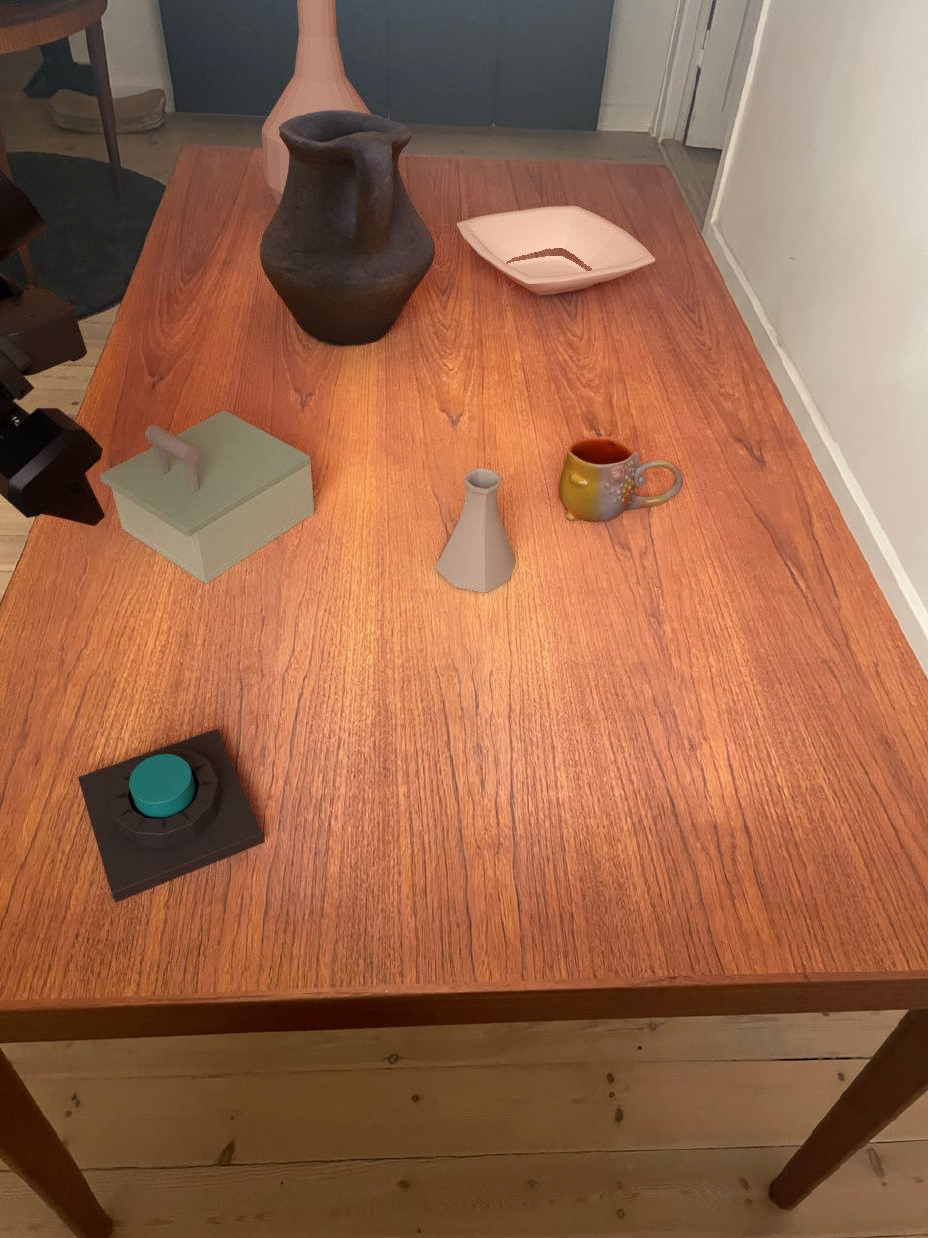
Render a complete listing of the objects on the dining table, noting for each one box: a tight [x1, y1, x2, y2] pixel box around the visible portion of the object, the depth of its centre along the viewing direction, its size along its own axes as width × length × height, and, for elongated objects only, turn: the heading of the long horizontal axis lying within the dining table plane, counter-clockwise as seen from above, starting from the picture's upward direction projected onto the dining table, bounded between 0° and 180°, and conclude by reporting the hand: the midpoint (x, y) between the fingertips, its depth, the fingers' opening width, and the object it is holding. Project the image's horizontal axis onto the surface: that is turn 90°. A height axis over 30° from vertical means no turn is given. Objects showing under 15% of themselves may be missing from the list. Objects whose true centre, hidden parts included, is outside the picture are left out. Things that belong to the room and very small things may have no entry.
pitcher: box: [259, 110, 436, 346], centre depth 106 cm, size 21×22×25 cm
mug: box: [558, 436, 684, 523], centre depth 89 cm, size 12×7×7 cm, turn 84°
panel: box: [77, 728, 265, 903], centre depth 62 cm, size 10×10×3 cm
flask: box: [434, 467, 516, 594], centre depth 80 cm, size 7×7×10 cm
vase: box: [261, 0, 372, 207], centre depth 128 cm, size 18×18×30 cm
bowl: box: [456, 205, 656, 296], centre depth 126 cm, size 22×23×6 cm
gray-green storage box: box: [111, 463, 315, 585], centre depth 84 cm, size 14×12×6 cm
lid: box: [99, 409, 311, 537], centre depth 80 cm, size 14×12×5 cm
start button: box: [129, 754, 195, 818], centre depth 61 cm, size 4×4×2 cm
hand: (65, 491), depth 66 cm, fingers open, 9 cm apart
